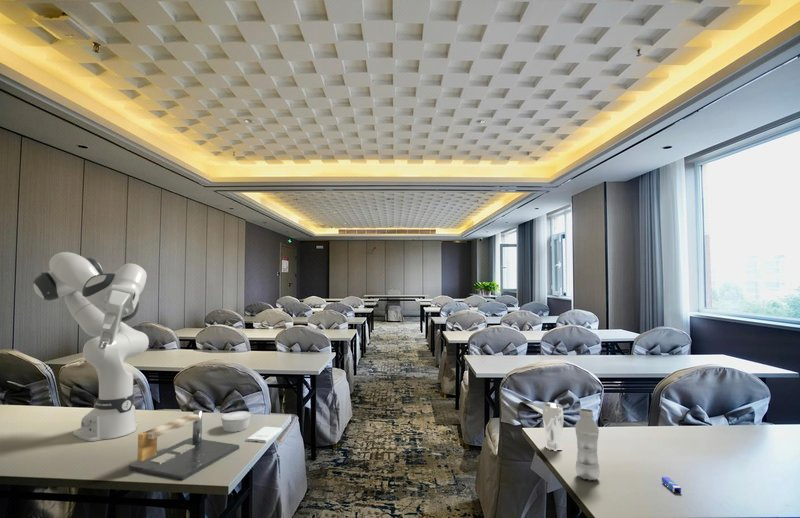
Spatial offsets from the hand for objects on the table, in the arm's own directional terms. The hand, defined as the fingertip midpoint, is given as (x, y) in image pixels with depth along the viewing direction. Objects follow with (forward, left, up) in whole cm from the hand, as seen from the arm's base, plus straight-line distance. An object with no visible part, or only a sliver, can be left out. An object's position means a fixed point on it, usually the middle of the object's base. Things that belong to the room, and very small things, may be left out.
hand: (103, 339), depth 118 cm
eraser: (+157, +51, -43) cm, 171 cm away
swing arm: (+4, +21, -39) cm, 44 cm away
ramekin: (+5, +51, -43) cm, 67 cm away
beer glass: (+126, +70, -43) cm, 151 cm away
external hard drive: (+21, +48, -43) cm, 68 cm away
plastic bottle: (+135, +50, -43) cm, 150 cm away
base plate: (+9, +23, -42) cm, 49 cm away
